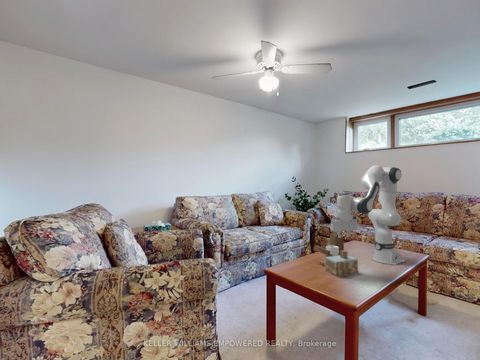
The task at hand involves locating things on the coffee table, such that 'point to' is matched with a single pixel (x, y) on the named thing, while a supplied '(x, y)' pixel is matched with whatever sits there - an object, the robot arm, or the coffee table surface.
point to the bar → (322, 250)
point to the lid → (341, 258)
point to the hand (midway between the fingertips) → (343, 237)
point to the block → (336, 241)
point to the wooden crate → (341, 267)
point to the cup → (333, 249)
